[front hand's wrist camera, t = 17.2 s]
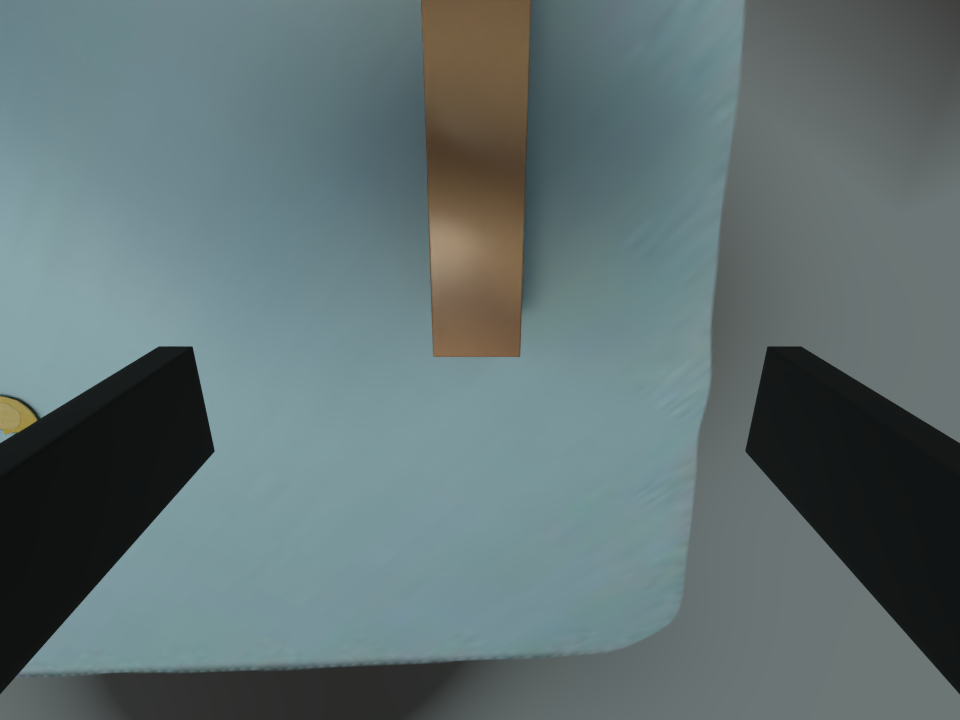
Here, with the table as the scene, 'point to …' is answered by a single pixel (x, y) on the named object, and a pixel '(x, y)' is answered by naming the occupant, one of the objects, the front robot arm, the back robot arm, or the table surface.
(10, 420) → the bottle opener
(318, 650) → the table surface
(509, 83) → the post
